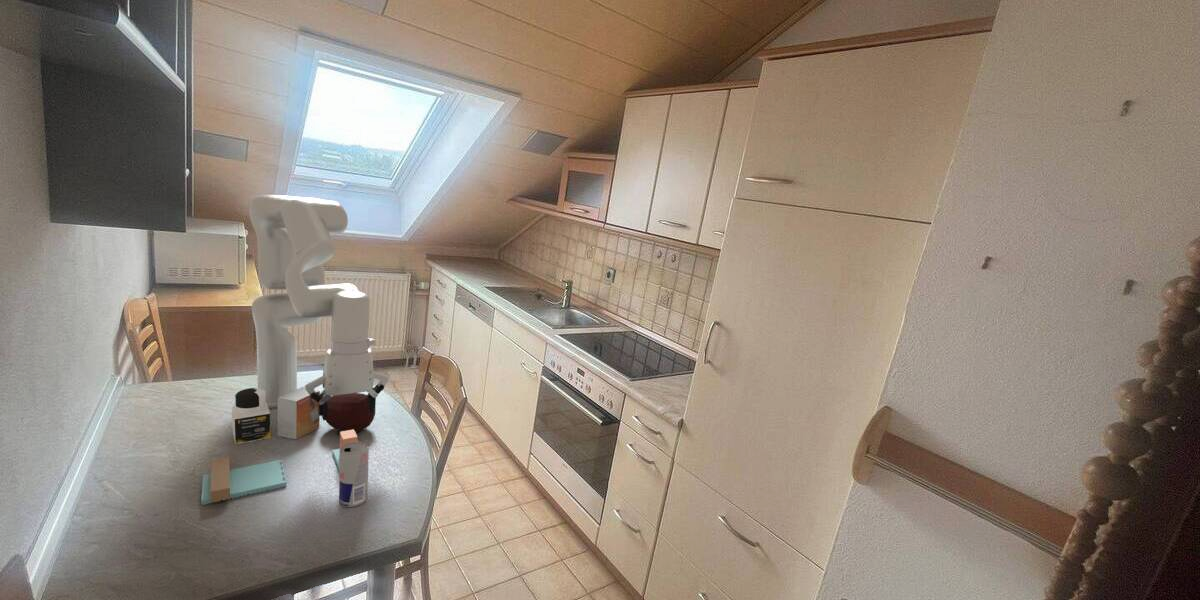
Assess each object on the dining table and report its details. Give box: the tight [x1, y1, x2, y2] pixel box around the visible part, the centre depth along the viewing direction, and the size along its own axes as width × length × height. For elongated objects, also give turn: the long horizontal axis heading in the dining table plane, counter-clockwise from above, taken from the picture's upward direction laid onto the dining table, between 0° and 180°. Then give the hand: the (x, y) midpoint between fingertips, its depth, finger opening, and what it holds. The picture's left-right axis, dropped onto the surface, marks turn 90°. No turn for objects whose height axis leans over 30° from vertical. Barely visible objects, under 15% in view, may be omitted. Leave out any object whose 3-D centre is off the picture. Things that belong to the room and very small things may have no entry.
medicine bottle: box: [231, 387, 272, 445], centre depth 119 cm, size 7×7×12 cm
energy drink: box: [338, 441, 370, 508], centre depth 100 cm, size 5×5×12 cm
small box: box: [277, 386, 321, 440], centre depth 124 cm, size 8×6×10 cm
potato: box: [325, 392, 376, 433], centre depth 128 cm, size 11×13×10 cm
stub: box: [332, 429, 358, 470], centre depth 114 cm, size 10×5×7 cm, turn 37°
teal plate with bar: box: [200, 456, 287, 506], centre depth 102 cm, size 13×14×3 cm
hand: (347, 414), depth 113 cm, fingers open, 9 cm apart
